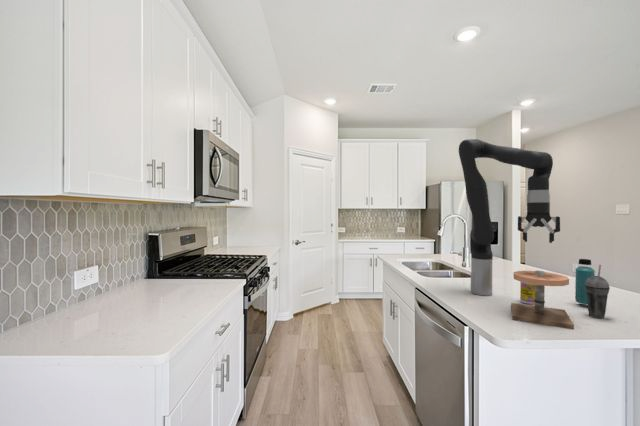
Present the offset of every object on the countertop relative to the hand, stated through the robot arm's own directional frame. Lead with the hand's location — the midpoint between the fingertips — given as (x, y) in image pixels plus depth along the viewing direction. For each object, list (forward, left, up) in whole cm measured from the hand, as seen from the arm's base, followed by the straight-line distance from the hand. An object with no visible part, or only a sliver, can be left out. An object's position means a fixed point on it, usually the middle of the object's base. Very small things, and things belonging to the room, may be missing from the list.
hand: (538, 242), depth 125 cm
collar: (0, -7, -14) cm, 16 cm away
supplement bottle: (-2, +12, -28) cm, 31 cm away
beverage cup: (+19, +4, -28) cm, 34 cm away
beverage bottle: (+18, +18, -28) cm, 38 cm away
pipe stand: (0, -7, -28) cm, 29 cm away
